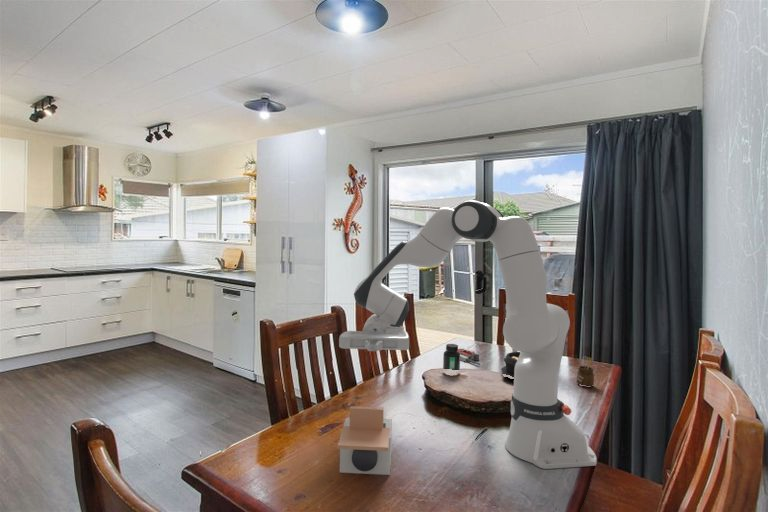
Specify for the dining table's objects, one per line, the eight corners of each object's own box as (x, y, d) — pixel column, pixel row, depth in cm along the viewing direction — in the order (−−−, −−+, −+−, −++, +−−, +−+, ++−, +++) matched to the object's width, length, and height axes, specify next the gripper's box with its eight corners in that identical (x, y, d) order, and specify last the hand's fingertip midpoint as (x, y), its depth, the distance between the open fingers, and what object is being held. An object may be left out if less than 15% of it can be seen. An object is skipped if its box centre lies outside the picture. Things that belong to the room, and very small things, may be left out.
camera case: (391, 452, 108) (392, 419, 108) (389, 478, 97) (390, 441, 96) (345, 450, 109) (346, 417, 108) (338, 476, 97) (339, 438, 97)
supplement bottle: (454, 377, 167) (455, 348, 167) (439, 374, 172) (440, 345, 171) (462, 373, 173) (463, 345, 172) (447, 369, 177) (448, 342, 176)
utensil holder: (589, 383, 165) (591, 353, 164) (596, 388, 158) (597, 358, 158) (574, 382, 165) (575, 352, 165) (580, 388, 159) (581, 357, 158)
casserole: (537, 390, 155) (538, 368, 155) (490, 379, 167) (491, 358, 166) (556, 374, 175) (557, 354, 174) (513, 365, 186) (514, 346, 186)
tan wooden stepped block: (389, 431, 101) (390, 407, 100) (388, 451, 91) (388, 425, 91) (343, 429, 101) (344, 406, 101) (337, 448, 92) (338, 423, 92)
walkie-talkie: (447, 356, 199) (477, 367, 182) (447, 347, 199) (478, 358, 182) (461, 353, 204) (491, 365, 187) (461, 344, 203) (492, 355, 186)
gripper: (342, 324, 127) (335, 336, 114) (408, 326, 127) (409, 337, 113) (341, 344, 128) (334, 358, 114) (408, 346, 127) (409, 360, 113)
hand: (372, 348), depth 113 cm, fingers closed
